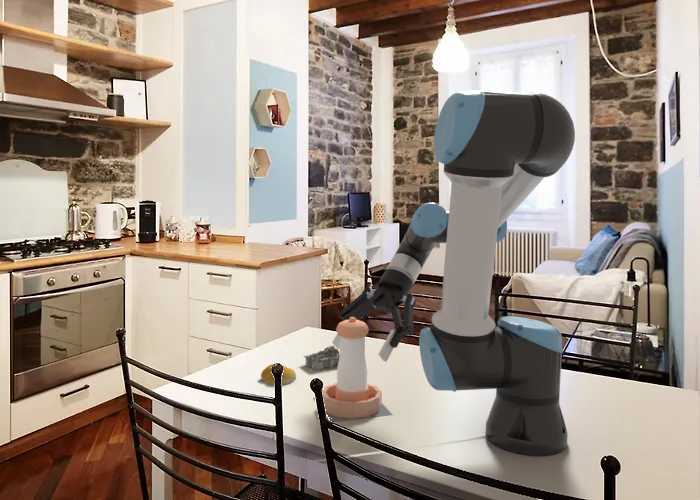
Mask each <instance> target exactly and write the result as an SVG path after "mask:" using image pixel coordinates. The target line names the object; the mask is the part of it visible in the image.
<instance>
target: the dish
mask: <svg viewBox="0 0 700 500" xmlns="http://www.w3.org/2000/svg"><path fill="white" fill-rule="evenodd" d="M336 386H337V382H336V383H332V384H329V385H327V386H324V388H323V389H322V390H321V392H322V393H323V399H324V404H325V409H326V413H328V414H331V415H334V416H336V417H344V418H360V417H368V416H371V415H373V414H375V413H377V412H379V410H380V408H381V406H382V404H383V402H382V399H383V397H382V395H383V391H382V390H381V389H379V387H378V386H376V385H374V384H369V383H367V386H368V388H369V397H368V400H365V401H356V402H349V401H339V400H336Z"/></svg>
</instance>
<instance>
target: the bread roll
mask: <svg viewBox="0 0 700 500" xmlns="http://www.w3.org/2000/svg"><path fill="white" fill-rule="evenodd" d="M274 364H275V363H273V364H269V365H267V366H266V367H265V368H264V369H263V370H262V371H261V373H260V378H261V379H262V381H263V382H266V383H267V384H268V385H269V384H270V385H272V386H273V385H274V377H273V375H272V373H271V367H272V366H273V365H274ZM282 365H283V364H282ZM283 367H284V372H283V375H282V384H281V385H288V384H291V383H293V382H295V381H296V379H297V374H296V371H295V370H294V369H292V368H289V367H288V366H286V365H283ZM274 386H275V385H274Z"/></svg>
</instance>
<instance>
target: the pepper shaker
mask: <svg viewBox="0 0 700 500" xmlns="http://www.w3.org/2000/svg"><path fill="white" fill-rule="evenodd" d="M369 330H370V329H369V326H368V325H367V323H366V322H364V321H362V320H361V319H359V320H356V318H355V317H350V318H349V320H345V321H343V320H342V321H340V322H338V324H337V326H336V328H335V331H336V333H337V334H338V335H339V336H340V349H339V354H340V356H339V362H338V365H337V370H336V380H337V381H336V383H337V386H336V400H339V401H349V402H356V401H365V400H368V397H369V388H368V386H367V384H368V367H367V361H366V349H365V348H366V336H367V335H368V333H369ZM337 334H336V335H337Z"/></svg>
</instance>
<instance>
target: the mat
mask: <svg viewBox="0 0 700 500" xmlns="http://www.w3.org/2000/svg"><path fill="white" fill-rule="evenodd" d="M315 398H316V397H313V401H315ZM326 414H327V415H328V417H330V418H329V419H330V421H332V422H331V423H336V422H337V423H338V422H345V421H353V420H363V419H370V418H377V417H385V416H393V413H392V412H391V411H390V410H389V409H388V407H386V406H385V405H384V404H383V403H382V406H381V408H380V410H379V412H377V413H375V414H373V415H371V416H368V417H360V418H344V417H336V416H334V415H331V414H328V413H326ZM328 417H327V418H328ZM331 418H332V419H331Z"/></svg>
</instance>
